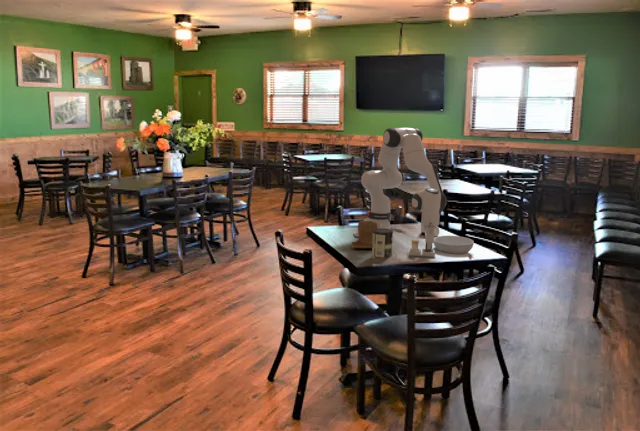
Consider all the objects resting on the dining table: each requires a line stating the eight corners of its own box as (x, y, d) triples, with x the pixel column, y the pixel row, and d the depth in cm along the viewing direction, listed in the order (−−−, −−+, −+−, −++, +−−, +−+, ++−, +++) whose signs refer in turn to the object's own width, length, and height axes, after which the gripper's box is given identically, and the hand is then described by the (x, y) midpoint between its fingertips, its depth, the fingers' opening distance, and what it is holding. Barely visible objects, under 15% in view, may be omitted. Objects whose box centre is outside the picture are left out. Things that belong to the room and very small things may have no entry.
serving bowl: (428, 247, 309) (428, 235, 307) (465, 247, 310) (466, 235, 309) (438, 258, 288) (439, 244, 287) (478, 257, 290) (479, 245, 288)
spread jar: (423, 231, 347) (424, 213, 345) (441, 233, 342) (442, 215, 340) (418, 235, 336) (419, 216, 334) (436, 237, 332) (438, 218, 329)
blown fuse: (424, 254, 285) (425, 239, 283) (424, 252, 288) (425, 238, 287) (432, 254, 284) (432, 240, 283) (431, 252, 288) (432, 238, 286)
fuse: (410, 255, 286) (411, 241, 284) (410, 253, 289) (411, 239, 288) (418, 255, 285) (418, 241, 284) (417, 254, 289) (418, 239, 287)
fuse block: (407, 259, 283) (407, 252, 282) (407, 254, 293) (407, 247, 292) (435, 261, 281) (436, 253, 280) (434, 256, 291) (435, 248, 290)
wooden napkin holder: (375, 244, 312) (376, 218, 309) (380, 250, 301) (381, 222, 298) (348, 245, 310) (349, 218, 308) (352, 250, 299) (353, 223, 296)
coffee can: (389, 254, 292) (390, 228, 289) (393, 260, 282) (394, 232, 279) (370, 254, 291) (371, 228, 289) (373, 260, 281) (374, 232, 278)
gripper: (437, 225, 272) (436, 253, 275) (435, 217, 292) (433, 243, 295) (424, 225, 273) (422, 252, 276) (423, 216, 293) (421, 242, 296)
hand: (428, 247), depth 285 cm, fingers closed on blown fuse, 3 cm apart
